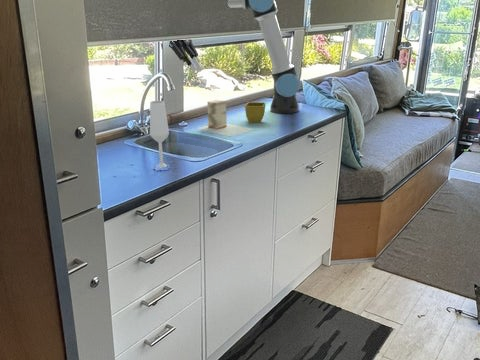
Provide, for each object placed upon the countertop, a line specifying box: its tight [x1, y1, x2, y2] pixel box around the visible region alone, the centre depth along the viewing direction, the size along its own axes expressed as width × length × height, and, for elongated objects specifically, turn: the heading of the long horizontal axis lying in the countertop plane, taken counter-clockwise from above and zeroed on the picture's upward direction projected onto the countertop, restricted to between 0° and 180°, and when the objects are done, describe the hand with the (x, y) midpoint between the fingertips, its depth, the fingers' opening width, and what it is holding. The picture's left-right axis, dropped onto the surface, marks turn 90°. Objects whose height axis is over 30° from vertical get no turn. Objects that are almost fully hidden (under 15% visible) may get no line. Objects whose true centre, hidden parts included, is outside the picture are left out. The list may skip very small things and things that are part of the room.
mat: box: [195, 123, 255, 137], centre depth 231 cm, size 22×16×1 cm
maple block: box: [207, 99, 228, 129], centre depth 232 cm, size 6×6×12 cm
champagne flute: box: [149, 100, 170, 168], centre depth 176 cm, size 7×7×24 cm
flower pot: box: [244, 101, 266, 124], centre depth 243 cm, size 9×9×9 cm
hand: (197, 69), depth 233 cm, fingers open, 3 cm apart
